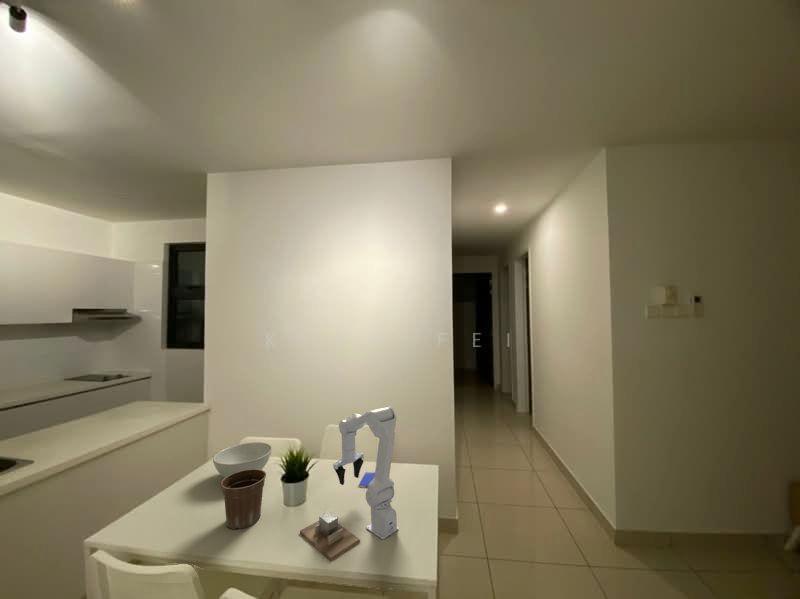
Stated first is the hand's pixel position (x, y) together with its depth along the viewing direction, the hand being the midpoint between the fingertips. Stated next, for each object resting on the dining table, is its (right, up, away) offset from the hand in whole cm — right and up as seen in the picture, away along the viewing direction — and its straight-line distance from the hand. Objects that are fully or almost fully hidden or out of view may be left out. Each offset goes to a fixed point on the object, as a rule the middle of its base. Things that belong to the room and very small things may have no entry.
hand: (349, 480), depth 139 cm
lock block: (-4, -7, -22) cm, 23 cm away
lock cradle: (-4, -8, -22) cm, 24 cm away
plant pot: (-40, -10, -10) cm, 42 cm away
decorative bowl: (-57, -12, +25) cm, 64 cm away
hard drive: (+7, -11, +18) cm, 22 cm away
